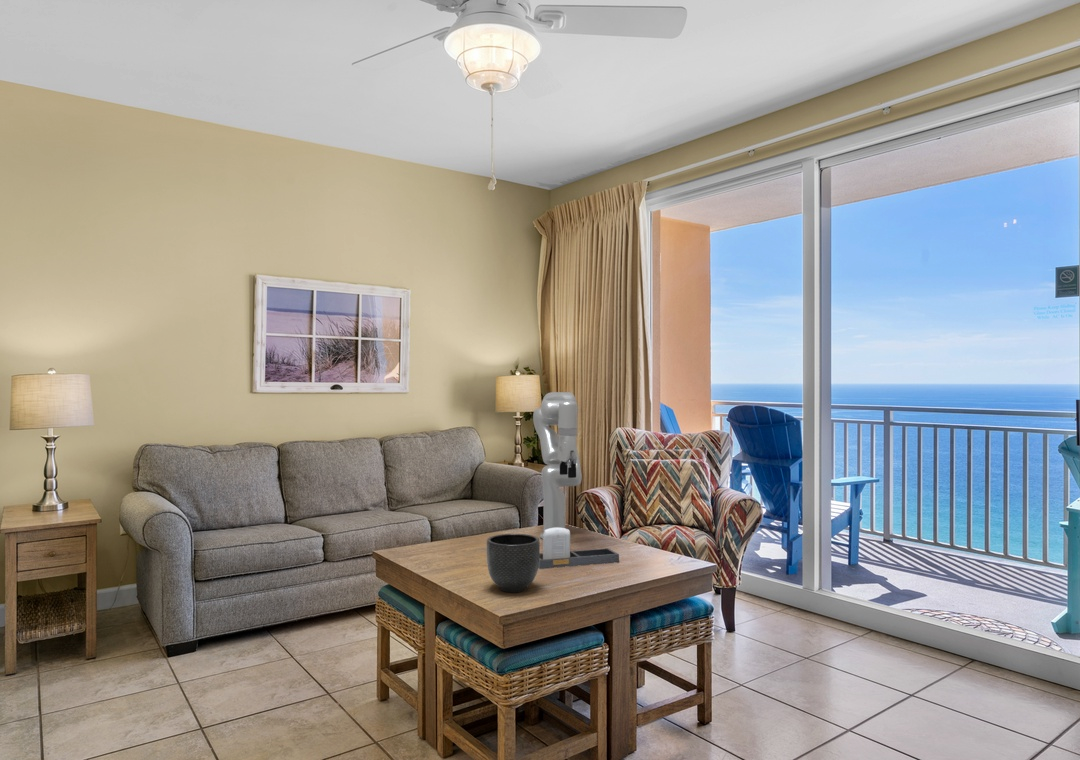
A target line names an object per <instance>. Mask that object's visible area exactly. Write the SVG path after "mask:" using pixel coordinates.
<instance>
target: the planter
mask: <svg viewBox="0 0 1080 760" xmlns="http://www.w3.org/2000/svg"><path fill="white" fill-rule="evenodd" d="M540 545H541V541H540V537H538V536H535V535H532V534H525V533H503V534H496V535H492V536H489V537H488V538H487V539H486V561H487V570H488V574H489V576H490V579H491V580H492V582H493V584H495V585H496V586H497V587H498V589H499V590H500V591H502V592H504V593H519V592H524V591H526V590H527V589H528V587H529V585H530V584H532V582H533V581H534V580H535V578H536V576H537V574H538V571H539V568H538V565H539V553H540V551H541V550H540V548H541V547H540Z"/></svg>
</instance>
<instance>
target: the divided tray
mask: <svg viewBox="0 0 1080 760" xmlns="http://www.w3.org/2000/svg"><path fill="white" fill-rule="evenodd" d="M614 562H617V563H620V554H619V553H618V552H616V551H614V550H612V548H608V547H606V548H594V549H593V548H592V549H581V550H570V557H569V558H556V559H544V560H543V552H541V553H539V565H538V570H541V569H543V570H544V569H554V567H557V568H566V567H565V566H569V567H579V566H578V565H581V566H589V565H590V564H593V565H602V564H603V565H604V563H605V564H614ZM590 566H591V565H590Z"/></svg>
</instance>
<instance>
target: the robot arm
mask: <svg viewBox="0 0 1080 760" xmlns="http://www.w3.org/2000/svg"><path fill="white" fill-rule="evenodd" d="M578 413H579V407H578V403H577V399H576V396H575V395H574V394H573V393H572V392H571V391H570V392H569V391H567V392H565V391H561V392H559V391H550V392H547V393H546V394H545V395H544V396H543V398H542V401H541V404H540V407H538V408H536V409H535V410H534V411H533V414H532V415H533V416H532V419H533V420H532V421H533V425H534V429H535V431H536V434H537V435H538V438H539V443H540V448H541V449H540V450H541V457H542V461H543V463H544V464H545V466H543V468H542V469H541V473H540V474H541V481H542V491H543V500H542V501H543V525H542V526H543V530H542V531H543V532H541V533H540V534H539V539H542V540H543V534H544V530H546V529H549V528H556V527H559V528H565V529H566V496H565V493H564V492H563V491H562V490H561V489H560V488H561V487H578V486H579V485H580V484H581V483H582V479H583V477H582V476H583V475H582V468H581V462H580V459H579V458H580V457H579V452H578V447H577V438H578ZM551 426H557V428H558V429H557V430H558V432H556V431H555V430H554V429H553V428H551Z"/></svg>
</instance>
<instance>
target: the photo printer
mask: <svg viewBox="0 0 1080 760" xmlns="http://www.w3.org/2000/svg"><path fill="white" fill-rule="evenodd" d="M570 551H571V531H570V529H568V528H566V527H565V528H559V527H556V528H549V529H546V530H544V534H543V539H542V553H543V560H544V559H556V558H569V557H570Z"/></svg>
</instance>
